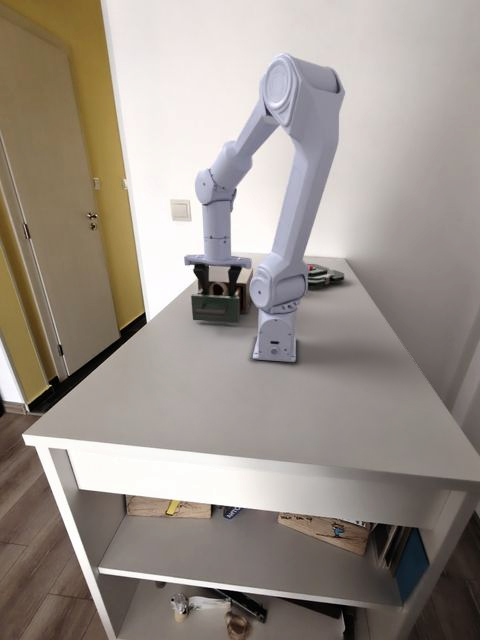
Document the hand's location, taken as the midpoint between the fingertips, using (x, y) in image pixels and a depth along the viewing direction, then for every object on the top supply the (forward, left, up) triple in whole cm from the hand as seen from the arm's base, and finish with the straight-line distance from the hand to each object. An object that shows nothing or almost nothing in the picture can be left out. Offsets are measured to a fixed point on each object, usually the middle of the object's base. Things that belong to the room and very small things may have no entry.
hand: (219, 297), depth 76 cm
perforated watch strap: (0, 0, -2) cm, 2 cm away
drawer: (-1, 0, -4) cm, 4 cm away
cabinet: (+10, 0, -5) cm, 11 cm away
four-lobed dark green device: (+34, -22, -5) cm, 41 cm away
